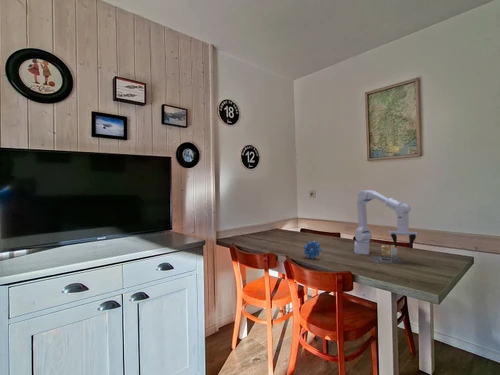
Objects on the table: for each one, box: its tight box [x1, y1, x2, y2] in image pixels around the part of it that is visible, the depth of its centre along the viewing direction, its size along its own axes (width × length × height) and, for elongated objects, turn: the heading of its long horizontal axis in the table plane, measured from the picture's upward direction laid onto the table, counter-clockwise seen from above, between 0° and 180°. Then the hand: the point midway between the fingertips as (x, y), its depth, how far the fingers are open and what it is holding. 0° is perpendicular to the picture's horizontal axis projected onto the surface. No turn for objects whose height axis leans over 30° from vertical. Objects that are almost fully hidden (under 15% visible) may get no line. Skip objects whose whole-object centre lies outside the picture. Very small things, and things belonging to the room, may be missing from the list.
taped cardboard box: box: [380, 245, 391, 257], centre depth 159 cm, size 4×4×5 cm
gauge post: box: [390, 244, 398, 260], centre depth 165 cm, size 3×3×8 cm
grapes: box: [303, 240, 322, 260], centre depth 171 cm, size 12×7×12 cm, turn 63°
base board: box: [370, 255, 405, 265], centre depth 162 cm, size 16×16×2 cm
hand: (403, 247), depth 155 cm, fingers open, 7 cm apart
